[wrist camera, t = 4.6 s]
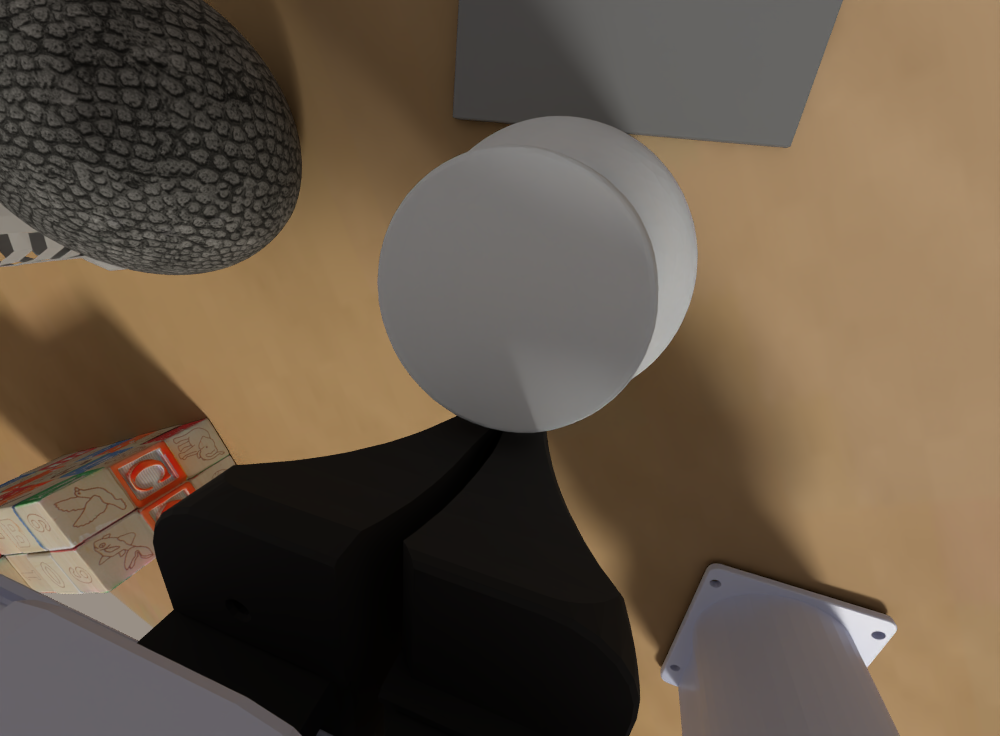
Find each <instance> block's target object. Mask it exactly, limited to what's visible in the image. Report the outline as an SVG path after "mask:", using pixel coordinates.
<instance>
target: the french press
mask: <svg viewBox="0 0 1000 736" xmlns="http://www.w3.org/2000/svg"><path fill="white" fill-rule="evenodd" d="M31 251H33V252H34V253H35V254H36V255H38V257H36V258H35V259H33V258H29V257H25V256H26V255H27V254H28V253H30V252H31ZM0 252H1V253H2V254H3V255H4V256H5V257H6V258H5V259H4V260H3V261H2V262H1V261H0V267H4V266H18V265H22V264H30V263H39V262H47V261H55V260H56V261H58V260H67V259H77V258H83V259H84V260H86V261H88V262H91V263H93V264H95V265H98V266H100V267H102V268H105V269H107V270H109V271H111V270H123V269H125V268H121V267H117V266H114V265H111V264H107V263H104V262H101V261H98V260H95V259H92V258H90V257H87V256H85V255H82V254H80V253H77V252H75V251H73V250H71V249H69V248H67V247H65V246H63V245H60V244H58V243H56V242H55V241H53V240H51V239H49V238H48V237H46V236H44V235H42V234H41V233H39V232H38V231H36V230H35V229H33V228H32V227H30V226H29V225H27V224H26V223H25V222H23V221H22V220H21V219H19V218H18V217H17V216H15V215H14V214H13V213H11V212H10V211H9V210H8V209H6V208H5V207H4V206H3V205H2V204H1V203H0ZM45 259H51V260H45ZM41 260H44V261H41ZM15 262H23V263H19V264H16V265H14V264H10V263H15Z"/></svg>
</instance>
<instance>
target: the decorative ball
mask: <svg viewBox="0 0 1000 736" xmlns="http://www.w3.org/2000/svg"><path fill="white" fill-rule="evenodd" d="M301 175H302V159H301V148H300V142H299V137H298V133H297V129H296V125H295V122H294V119H293V116H292V113H291V110H290V108H289V105H288V103H287V101H286V99H285V97H284V94H283V92H282V90H281V89H280V87H279V85H278V83H277V81H276V80H275V78H274V76H273V75H272V73H271V71H270V70H269V68H268V67H267V66H266V64H265V63H264V61H263V60H262V59H261V57H260V56H259V55H258V53H257V52H256V51H255V49H254V48H253V47H252V46H251V45H250V43H249V42H248V41H247V40H246V39H245V38H244V37H243V36H242V35H241V34H240V32H239V31H238V30H237V29H236V28H235V27H234V26H232V25H231V24H230V23H229V22H228V21H227V20H226V19H225V18H224V17H223V16H222V15H220V14H219V13H218V12H217V11H216V10H215V9H213V8H212V7H211V6H209V5H208V4H207V3H205V2H204V1H203V0H0V203H1V204H2V205H3V206H4V207H5V208H6V209H8V210H9V211H10V212H11V213H13V214H14V215H15V216H17V217H18V218H19V219H21V220H22V221H23V222H25V223H26V224H27V225H29V226H30V227H32V228H33V229H35V230H36V231H38V232H39V233H41V234H42V235H44V236H46V237H48V238H49V239H51V240H53V241H55V242H56V243H58V244H60V245H63V246H65V247H67V248H69V249H71V250H73V251H75V252H77V253H80V254H82V255H85V256H87V257H90V258H92V259H95V260H98V261H101V262H104V263H107V264H111V265H114V266H117V267H121V268H125V269H130V270H134V271H140V272H146V273H153V274H165V275H190V274H200V273H206V272H211V271H216V270H220V269H223V268H226V267H229V266H232V265H235V264H237V263H239V262H241V261H243V260H246V259H248V258H249V257H251V256H253V255H254V254H256V253H257V252H259V251H260V250H261V249H263V248H264V247H265V246H266V245H267V244H269V243H270V242H271V241H272V240H273V239H274V238H275V237H276V236H277V235H278V233H279V232H280V231H281V230H282V229H283V227H284V226H285V224H286V223H287V221H288V220H289V218H290V216H291V215H292V213H293V211H294V208H295V206H296V202H297V199H298V195H299V191H300V185H301Z"/></svg>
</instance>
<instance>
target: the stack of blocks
mask: <svg viewBox="0 0 1000 736" xmlns="http://www.w3.org/2000/svg"><path fill="white" fill-rule="evenodd" d="M233 465H236V464H235V462H234V461H233V459H232V457H231V456H230V455H229V452H228V450H227V449H226V447H225V445H224V444H223V442H222V441H221V439H220V437H219V436H218V434H217V432H216V431H215V429H214V427H213V426H212V424H211V423H210V421H209V420H208V419H207V418H205V419H202V420H198V421H195V422H192V423H188V424H185V425H176V426H173V427H169V428H165V429H162V430H159V431H154V432H150V433H146V434H143V435H139V436H136V437H134V438H131V439H128V440H124V441H120V442H117V443H114V444H110V445H106V446H102V447H99V448H97V447H96V448H92V449H88V450H84V451H80V452H75V453H71V454H67V455H64V456H61V457H59V458H57V459H55V460H53V461H50V462H48V463H46V464H44V465H42V466H39V467H37V468H35V469H33V470H30V471H28V472H26V473H23V474H21V475H20V476H19V477H17V478H15V479H12V480H10V481H8V482H6V483H4V484H2V485H0V574H2V575H4V576H6V577H9V578H11V579H13V580H15V581H17V582H19V583H21V584H23V585H25V586H27V587H29V588H31V589H33V590H35V591H37V592H39V593H58V594H82V593H108V592H110V591H111V590H113V589H114V588H116V587H117V586H118V585H120V584H121V583H122V582H124V581H125V580H127V579H128V578H129V577H131V576H132V575H133V574H135V573H136V572H137V571H138V570H140V569H141V568H143V567H144V566H145V565H147V564H148V563H149V562H151V561H152V560H153V559H155V558H156V555H155V551H154V546H153V535H154V528H155V523H156V522H157V520H158V518H159V517H160V515H161V514H162V513H163V512H164V511H166V510H167V509H169V508H170V507H172V506H173V505H175V504H176V503H178V502H179V501H181V500H182V499H184V498H185V497H187V496H188V495H190V494H191V493H193V492H194V491H196V490H197V489H199V488H200V487H202V486H203V485H205V484H206V483H208V482H209V481H211V480H212V479H214V478H215V477H217V476H218V475H220V474H221V473H223V472H224V471H226V470H227V469H228V468H230V467H231V466H233Z"/></svg>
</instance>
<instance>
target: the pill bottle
mask: <svg viewBox="0 0 1000 736" xmlns="http://www.w3.org/2000/svg"><path fill="white" fill-rule="evenodd" d="M697 256H698V251H697V238H696V233H695V227H694V222H693V219H692V216H691V213H690V210H689V207H688V204H687V202H686V199H685V197H684V194H683V192H682V191H681V189H680V187H679V185H678V183H677V182H676V180H675V179H674V177H673V176H672V174H671V173H670V171H669V170H668V169H667V168H666V166H665V165H664V164H663V163H662V162H661V161H660V159H659V158H658V157H657V156H656V155H655V154H654V153H653V152H652V151H650V150H649V149H648V148H647V147H646V146H645V145H643V144H642V143H640V142H639V141H638V140H636V139H635V138H633V137H631V136H630V135H628V134H626V133H625V132H623V131H621V130H619V129H617V128H614V127H612V126H610V125H607V124H604V123H601V122H598V121H594V120H590V119H585V118H580V117H572V116H546V117H539V118H533V119H529V120H525V121H522V122H518V123H515V124H512V125H510V126H507V127H505V128H503V129H501V130H499V131H497V132H495V133H493V134H492V135H490V136H488V137H487V138H485V139H483V140H482V141H481V142H479V143H478V144H476V145H475V146H474V147H473V148H471V149H470V150H469V151H468V152H466V153H463V154H461V155H458V156H456V157H454V158H452V159H450V160H448V161H446V162H444V163H443V164H441V165H440V166H438V167H437V168H435V169H434V170H432V171H431V172H430V173H429V174H427V175H426V176H425V177H424V178H423V179H422V180H420V181H419V182H418V183H417V184H416V185H415V186H414V188H413V189H412V190H411V191H410V192H409V193H408V194H407V195H406V197H405V198H404V200H403V201H402V203H401V204H400V206H399V207H398V209H397V211H396V213H395V214H394V216H393V218H392V220H391V222H390V225H389V227H388V230H387V232H386V235H385V237H384V241H383V245H382V249H381V253H380V260H379V269H378V293H379V305H380V310H381V315H382V319H383V323H384V326H385V329H386V331H387V334H388V337H389V339H390V342H391V344H392V346H393V349H394V351H395V353H396V354H397V356H398V358H399V360H400V361H401V363H402V365H403V366H404V367H405V369H406V370H407V372H408V373H409V375H410V376H411V377H412V378H413V379H414V380H415V381H416V383H417V384H418V385H419V386H420V387H421V388H422V389H423V390H424V391H425V392H426V393H427V394H428V395H429V396H430V397H431V398H432V399H434V400H435V401H436V402H438V403H439V404H440V405H442V406H443V407H445V408H446V409H448V410H449V411H451V412H452V413H454V414H455V415H457V416H459V417H461V418H463V419H465V420H468V421H470V422H472V423H475V424H478V425H481V426H483V427H486V428H491V429H496V430H501V431H506V432H514V433H535V432H543V431H550V430H554V429H557V428H561V427H564V426H567V425H570V424H573V423H575V422H577V421H580V420H582V419H584V418H586V417H588V416H590V415H592V414H594V413H595V412H597V411H598V410H600V409H601V408H603V407H604V406H605V405H606V404H608V403H609V402H610V401H612V400H613V399H614V398H615V397H616V396H617V395H618V394H619V393H620V392H621V391H622V390H623V389H624V388H625V387H626V386H627V385H628V383H629V382H630V380H631V379H633V378H634V377H636V376H637V375H639V374H640V373H641V372H642V371H644V370H645V369H646V368H647V367H648V366H650V365H651V364H652V363H653V362H654V361H655V360H656V359H657V358H658V357H659V355H660V354H661V353H662V352H663V351H664V350H665V348H666V347H667V346H668V344H669V343H670V342H671V340H672V339H673V337H674V336H675V334H676V333H677V331H678V329H679V327H680V325H681V323H682V321H683V319H684V317H685V314H686V312H687V310H688V307H689V304H690V301H691V298H692V294H693V290H694V285H695V281H696V274H697Z"/></svg>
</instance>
